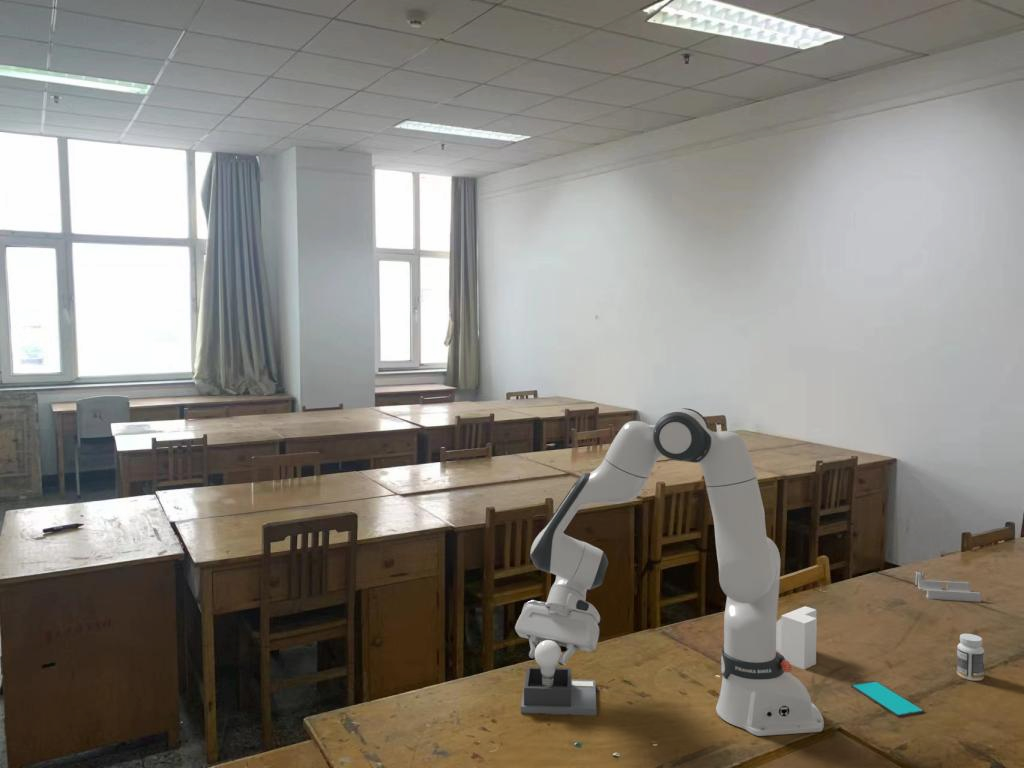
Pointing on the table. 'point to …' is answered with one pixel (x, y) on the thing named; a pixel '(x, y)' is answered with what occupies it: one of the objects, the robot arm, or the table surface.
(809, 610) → the white notched block
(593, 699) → the socket board
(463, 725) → the table surface
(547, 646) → the lightbulb
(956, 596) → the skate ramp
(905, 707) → the smartphone
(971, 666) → the pill bottle
